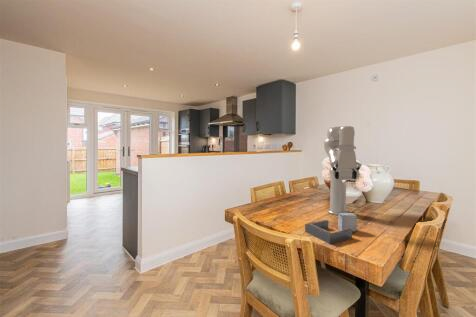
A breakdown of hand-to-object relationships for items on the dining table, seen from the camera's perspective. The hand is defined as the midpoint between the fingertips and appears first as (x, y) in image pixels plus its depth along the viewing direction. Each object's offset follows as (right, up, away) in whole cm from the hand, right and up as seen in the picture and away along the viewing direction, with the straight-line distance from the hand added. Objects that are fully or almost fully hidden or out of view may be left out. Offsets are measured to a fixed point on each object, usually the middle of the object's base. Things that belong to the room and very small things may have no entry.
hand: (345, 178), depth 128 cm
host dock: (-16, -27, -14) cm, 34 cm away
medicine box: (-3, -27, -8) cm, 28 cm away
